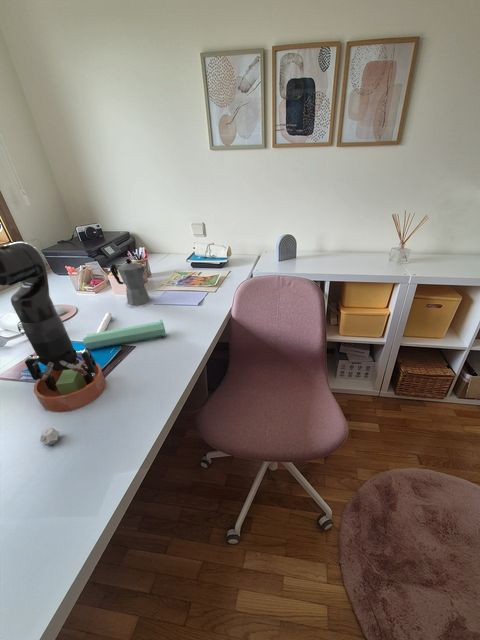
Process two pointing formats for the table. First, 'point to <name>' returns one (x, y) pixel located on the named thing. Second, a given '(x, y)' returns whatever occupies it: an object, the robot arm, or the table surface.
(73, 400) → the basin
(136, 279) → the coffeepot
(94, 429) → the table surface
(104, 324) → the marker
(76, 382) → the sponge
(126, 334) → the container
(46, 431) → the grey rock
